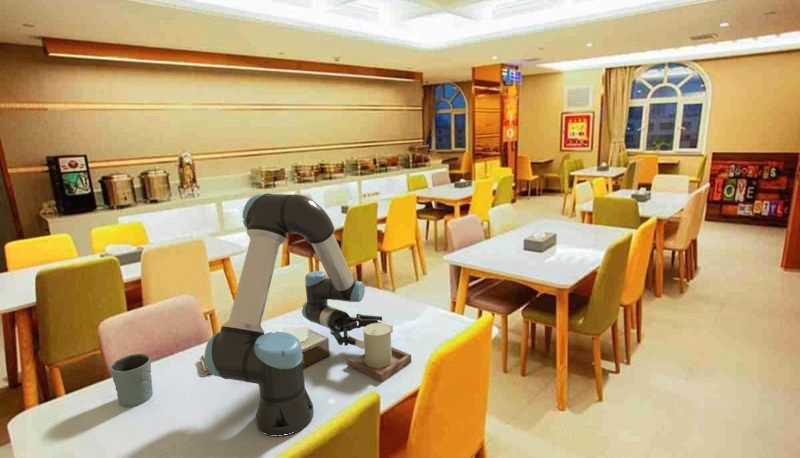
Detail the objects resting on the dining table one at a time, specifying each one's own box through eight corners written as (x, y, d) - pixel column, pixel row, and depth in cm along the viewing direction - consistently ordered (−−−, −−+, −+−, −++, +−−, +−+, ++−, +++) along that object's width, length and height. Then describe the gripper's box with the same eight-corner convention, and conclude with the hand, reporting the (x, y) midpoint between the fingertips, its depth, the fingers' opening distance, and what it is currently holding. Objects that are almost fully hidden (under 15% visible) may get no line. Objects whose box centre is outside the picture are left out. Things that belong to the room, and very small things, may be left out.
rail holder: (381, 382, 133) (381, 374, 133) (347, 366, 143) (347, 359, 142) (411, 361, 145) (411, 354, 144) (378, 348, 154) (378, 341, 153)
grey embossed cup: (121, 392, 132) (114, 357, 129) (159, 385, 135) (152, 350, 133) (113, 412, 123) (105, 374, 120) (153, 403, 126) (146, 366, 123)
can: (360, 366, 141) (358, 332, 138) (370, 352, 149) (368, 320, 147) (387, 369, 138) (385, 335, 135) (395, 355, 147) (394, 322, 144)
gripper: (360, 317, 166) (402, 333, 152) (308, 342, 147) (351, 362, 134) (359, 299, 164) (402, 313, 150) (306, 322, 146) (349, 340, 132)
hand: (378, 336), depth 142 cm, fingers open, 13 cm apart
